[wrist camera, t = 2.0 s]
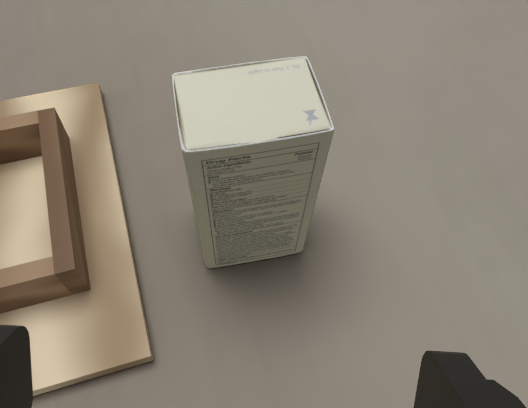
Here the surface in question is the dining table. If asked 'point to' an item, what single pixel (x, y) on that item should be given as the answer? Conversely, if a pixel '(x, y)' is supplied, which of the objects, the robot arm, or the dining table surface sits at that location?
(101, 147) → the carrier plate
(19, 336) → the robot arm
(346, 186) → the dining table surface
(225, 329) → the dining table surface
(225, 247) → the skincare box
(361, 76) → the dining table surface
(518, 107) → the dining table surface
